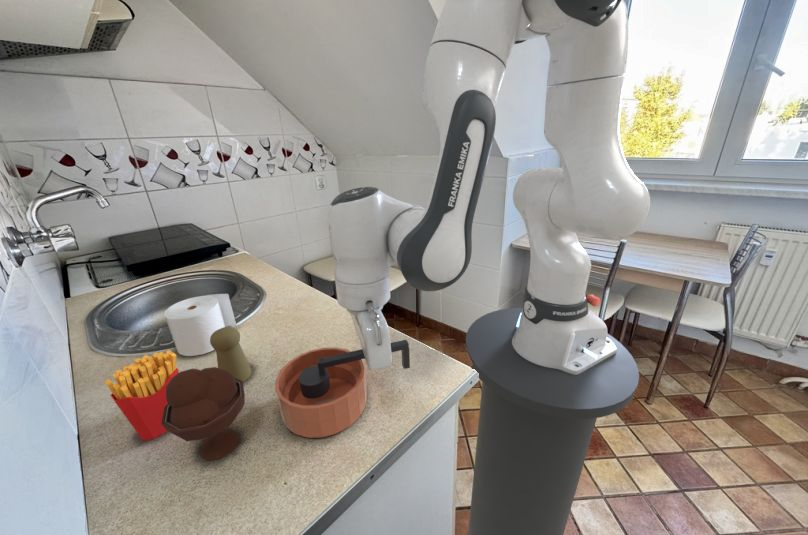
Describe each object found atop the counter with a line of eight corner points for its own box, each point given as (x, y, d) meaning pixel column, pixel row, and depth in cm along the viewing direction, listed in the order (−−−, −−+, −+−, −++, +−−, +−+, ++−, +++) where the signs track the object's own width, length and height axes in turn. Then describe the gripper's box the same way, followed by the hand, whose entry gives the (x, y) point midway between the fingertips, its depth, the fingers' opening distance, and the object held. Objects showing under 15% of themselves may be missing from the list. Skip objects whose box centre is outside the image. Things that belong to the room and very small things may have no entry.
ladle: (301, 402, 54) (296, 375, 52) (300, 382, 59) (295, 357, 57) (413, 373, 60) (412, 349, 58) (404, 357, 64) (404, 333, 62)
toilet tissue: (166, 356, 73) (151, 318, 69) (200, 326, 84) (190, 292, 80) (210, 357, 72) (198, 319, 69) (239, 327, 83) (230, 293, 80)
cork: (249, 382, 65) (236, 337, 61) (216, 388, 63) (201, 342, 59) (253, 363, 70) (242, 320, 66) (223, 369, 69) (210, 325, 65)
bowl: (358, 368, 68) (355, 340, 65) (375, 425, 55) (372, 393, 52) (283, 385, 64) (276, 357, 61) (281, 452, 51) (273, 419, 48)
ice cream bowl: (213, 490, 45) (182, 410, 39) (165, 460, 50) (131, 384, 44) (271, 431, 54) (252, 359, 48) (225, 409, 59) (203, 341, 53)
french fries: (138, 448, 52) (107, 386, 47) (129, 435, 54) (99, 374, 49) (199, 411, 58) (177, 352, 53) (188, 400, 61) (167, 344, 56)
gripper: (400, 316, 45) (403, 392, 50) (368, 264, 63) (373, 324, 68) (355, 325, 43) (363, 403, 49) (336, 269, 61) (343, 330, 66)
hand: (369, 356), depth 59 cm, fingers closed on ladle
